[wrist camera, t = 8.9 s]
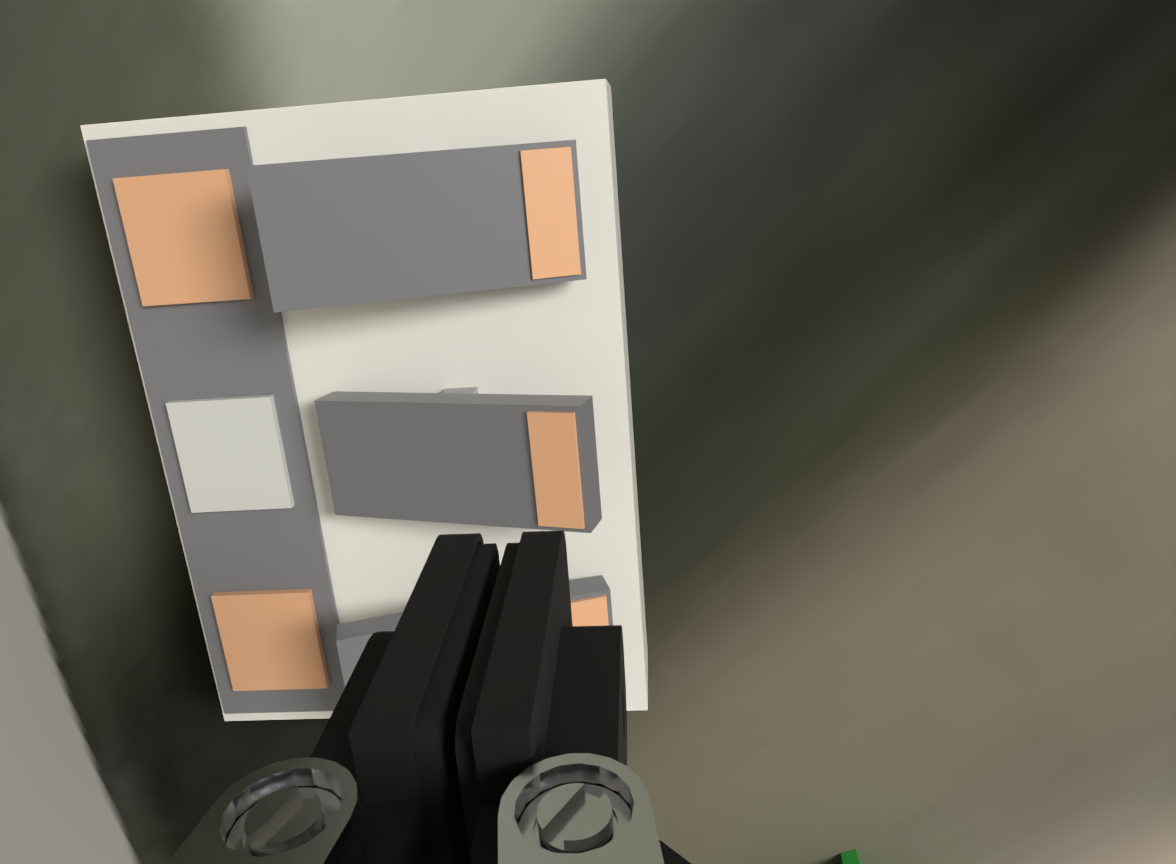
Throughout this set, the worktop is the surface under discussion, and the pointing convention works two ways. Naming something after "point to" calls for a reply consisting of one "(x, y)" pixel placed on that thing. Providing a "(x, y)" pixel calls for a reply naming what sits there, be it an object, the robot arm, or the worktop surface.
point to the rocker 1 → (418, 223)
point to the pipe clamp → (850, 857)
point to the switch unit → (346, 373)
